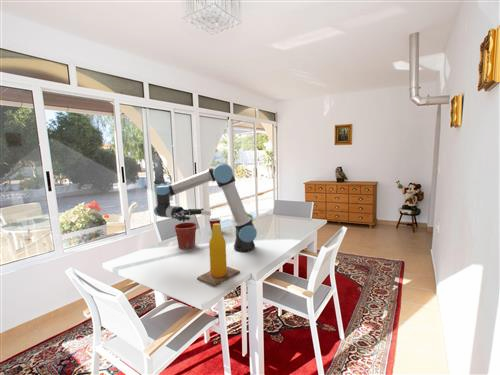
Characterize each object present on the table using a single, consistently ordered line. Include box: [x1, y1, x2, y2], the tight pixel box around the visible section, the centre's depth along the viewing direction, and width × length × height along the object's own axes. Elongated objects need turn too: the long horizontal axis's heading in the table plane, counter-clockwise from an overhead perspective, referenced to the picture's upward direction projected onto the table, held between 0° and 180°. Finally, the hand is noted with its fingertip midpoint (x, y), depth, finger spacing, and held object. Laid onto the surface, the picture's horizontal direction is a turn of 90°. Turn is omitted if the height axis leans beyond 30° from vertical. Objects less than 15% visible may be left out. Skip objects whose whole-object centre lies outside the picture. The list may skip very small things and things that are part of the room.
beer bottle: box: [208, 222, 227, 278], centre depth 147 cm, size 9×9×29 cm
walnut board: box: [196, 266, 241, 288], centre depth 149 cm, size 20×14×1 cm
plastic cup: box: [208, 217, 222, 231], centre depth 229 cm, size 11×11×12 cm
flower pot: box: [173, 221, 198, 250], centre depth 197 cm, size 16×16×16 cm
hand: (202, 215), depth 149 cm, fingers open, 13 cm apart
